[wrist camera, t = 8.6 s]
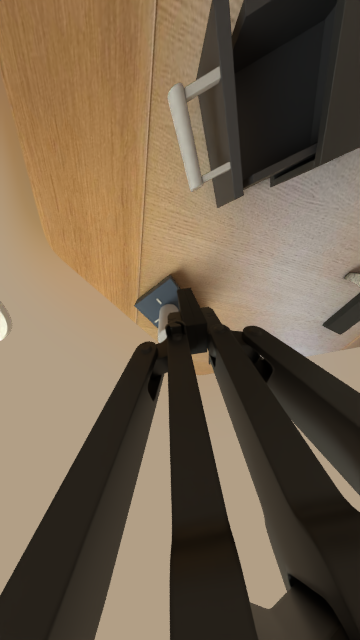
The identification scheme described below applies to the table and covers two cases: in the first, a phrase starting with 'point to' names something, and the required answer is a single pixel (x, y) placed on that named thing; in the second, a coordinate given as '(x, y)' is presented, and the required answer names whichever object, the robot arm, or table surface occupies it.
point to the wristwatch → (353, 278)
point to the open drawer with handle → (256, 92)
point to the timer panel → (158, 299)
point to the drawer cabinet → (337, 94)
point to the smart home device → (345, 317)
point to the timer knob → (164, 320)
